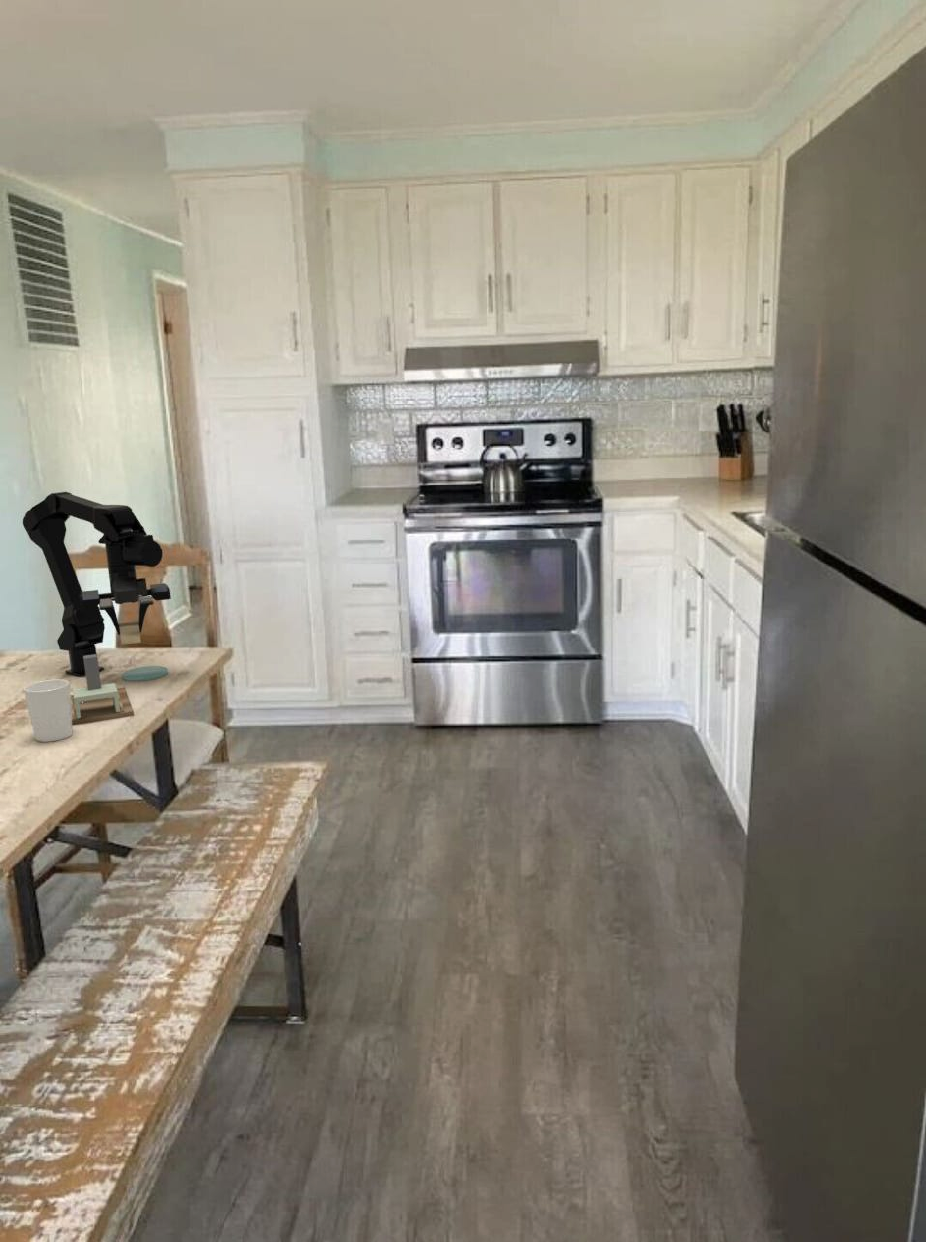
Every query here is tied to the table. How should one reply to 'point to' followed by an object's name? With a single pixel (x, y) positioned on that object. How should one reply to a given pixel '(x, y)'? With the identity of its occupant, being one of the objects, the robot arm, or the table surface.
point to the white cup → (50, 709)
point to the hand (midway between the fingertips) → (129, 633)
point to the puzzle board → (102, 709)
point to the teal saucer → (144, 673)
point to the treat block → (129, 633)
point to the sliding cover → (94, 686)
